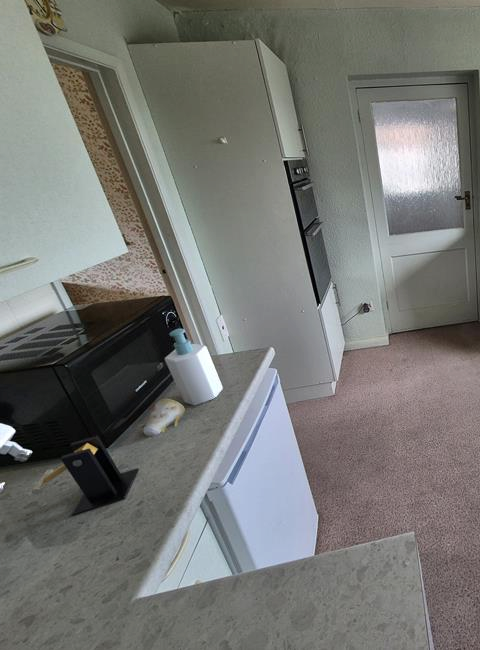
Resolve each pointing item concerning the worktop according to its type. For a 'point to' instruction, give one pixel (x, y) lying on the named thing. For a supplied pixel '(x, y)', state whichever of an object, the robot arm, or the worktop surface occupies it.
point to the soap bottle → (193, 370)
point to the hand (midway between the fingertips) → (16, 472)
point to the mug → (163, 416)
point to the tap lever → (56, 471)
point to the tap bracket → (97, 476)
